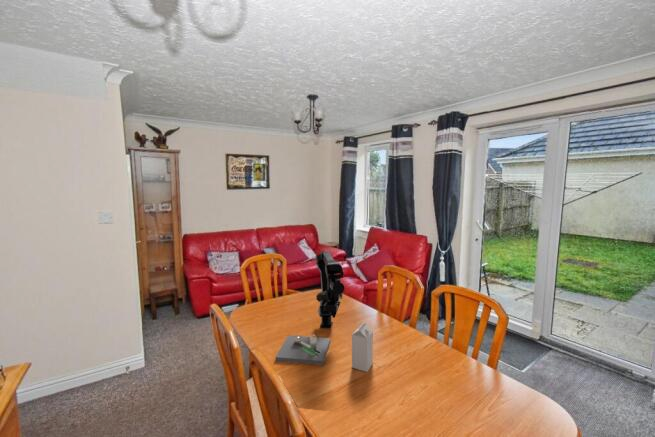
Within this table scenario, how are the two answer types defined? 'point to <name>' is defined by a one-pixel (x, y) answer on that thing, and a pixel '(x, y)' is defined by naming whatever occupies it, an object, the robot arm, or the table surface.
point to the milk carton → (362, 348)
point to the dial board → (303, 351)
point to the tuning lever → (312, 344)
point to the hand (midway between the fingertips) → (333, 317)
